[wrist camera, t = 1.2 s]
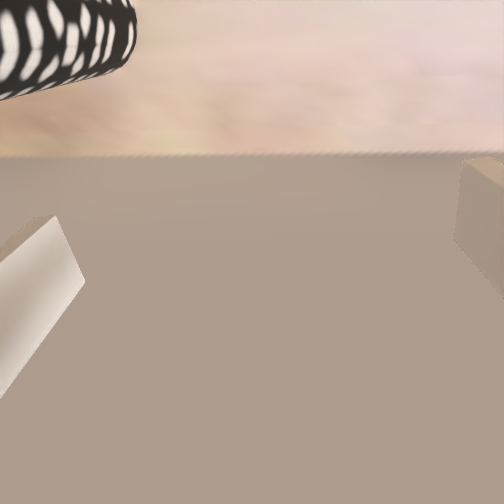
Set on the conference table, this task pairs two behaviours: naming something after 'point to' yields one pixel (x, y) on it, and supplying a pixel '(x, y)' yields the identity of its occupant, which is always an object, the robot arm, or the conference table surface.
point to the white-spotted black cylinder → (62, 42)
